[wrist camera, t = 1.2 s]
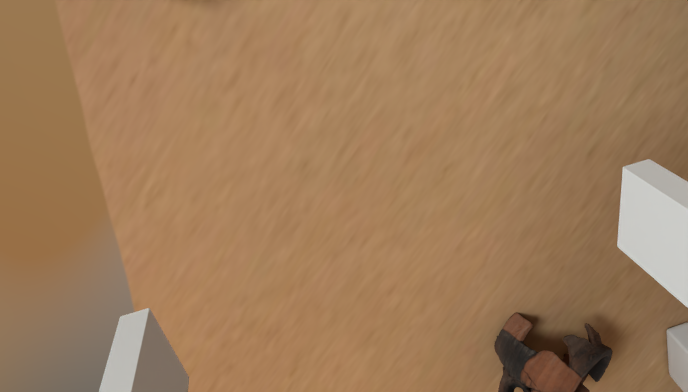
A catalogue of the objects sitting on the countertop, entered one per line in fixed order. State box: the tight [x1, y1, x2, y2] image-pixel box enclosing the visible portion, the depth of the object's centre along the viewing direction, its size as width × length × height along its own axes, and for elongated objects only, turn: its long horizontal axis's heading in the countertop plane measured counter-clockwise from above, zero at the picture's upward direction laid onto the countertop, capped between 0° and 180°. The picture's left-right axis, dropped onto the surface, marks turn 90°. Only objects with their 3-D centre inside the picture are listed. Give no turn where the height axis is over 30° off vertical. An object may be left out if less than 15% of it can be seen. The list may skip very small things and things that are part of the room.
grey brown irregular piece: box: [495, 313, 612, 392], centre depth 51 cm, size 12×10×8 cm
